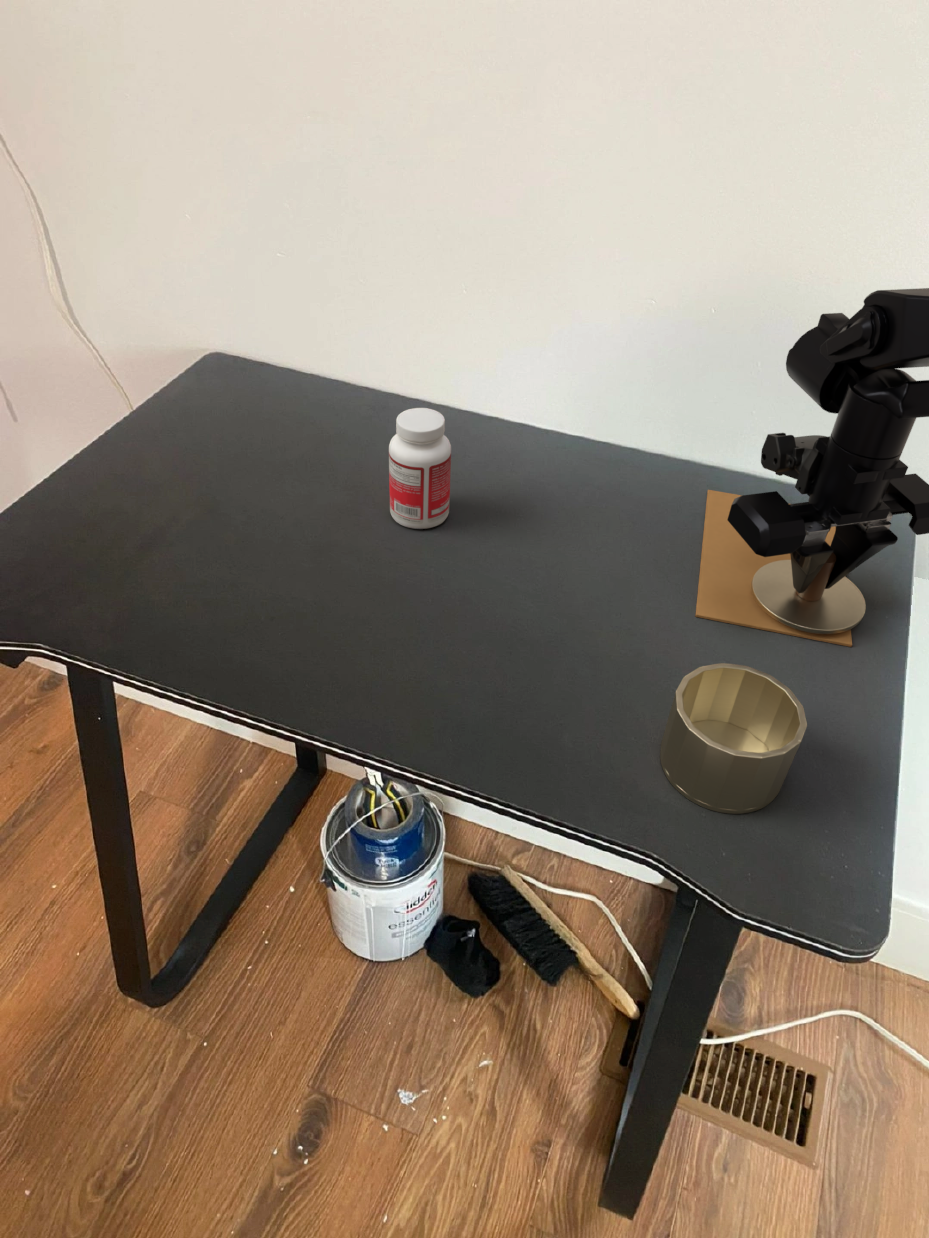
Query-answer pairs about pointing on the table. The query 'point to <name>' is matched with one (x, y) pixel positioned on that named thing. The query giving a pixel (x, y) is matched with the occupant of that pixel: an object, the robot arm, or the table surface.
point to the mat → (739, 576)
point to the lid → (808, 599)
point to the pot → (731, 737)
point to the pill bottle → (419, 469)
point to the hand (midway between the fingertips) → (810, 588)
